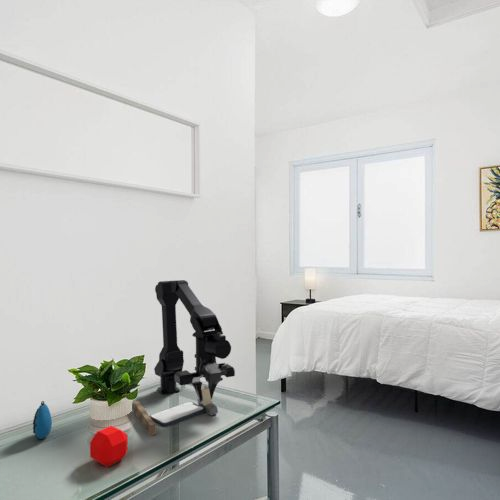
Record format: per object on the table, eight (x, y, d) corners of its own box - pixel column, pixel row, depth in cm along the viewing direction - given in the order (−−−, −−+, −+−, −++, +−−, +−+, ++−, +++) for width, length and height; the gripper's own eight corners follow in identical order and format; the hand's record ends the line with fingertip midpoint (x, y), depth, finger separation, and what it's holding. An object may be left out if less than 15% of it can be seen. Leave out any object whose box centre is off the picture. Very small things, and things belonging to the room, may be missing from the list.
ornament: (35, 432, 123) (35, 397, 123) (53, 429, 125) (53, 395, 124) (30, 445, 115) (30, 407, 115) (49, 442, 117) (49, 405, 116)
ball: (133, 459, 108) (132, 429, 108) (104, 473, 101) (104, 441, 101) (113, 450, 113) (113, 421, 112) (85, 462, 106) (85, 431, 106)
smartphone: (164, 429, 126) (206, 413, 138) (164, 424, 126) (206, 408, 138) (147, 420, 133) (189, 405, 144) (147, 415, 132) (189, 400, 144)
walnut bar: (133, 410, 139) (133, 401, 138) (138, 409, 139) (138, 400, 139) (150, 435, 121) (150, 425, 121) (155, 434, 122) (155, 424, 121)
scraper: (198, 405, 143) (194, 385, 143) (205, 402, 145) (201, 382, 144) (210, 415, 135) (206, 394, 134) (218, 412, 136) (213, 391, 135)
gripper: (185, 362, 127) (186, 415, 128) (242, 354, 136) (242, 403, 137) (173, 353, 137) (174, 402, 137) (227, 346, 146) (227, 392, 146)
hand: (205, 400), depth 139 cm, fingers closed on scraper, 3 cm apart
